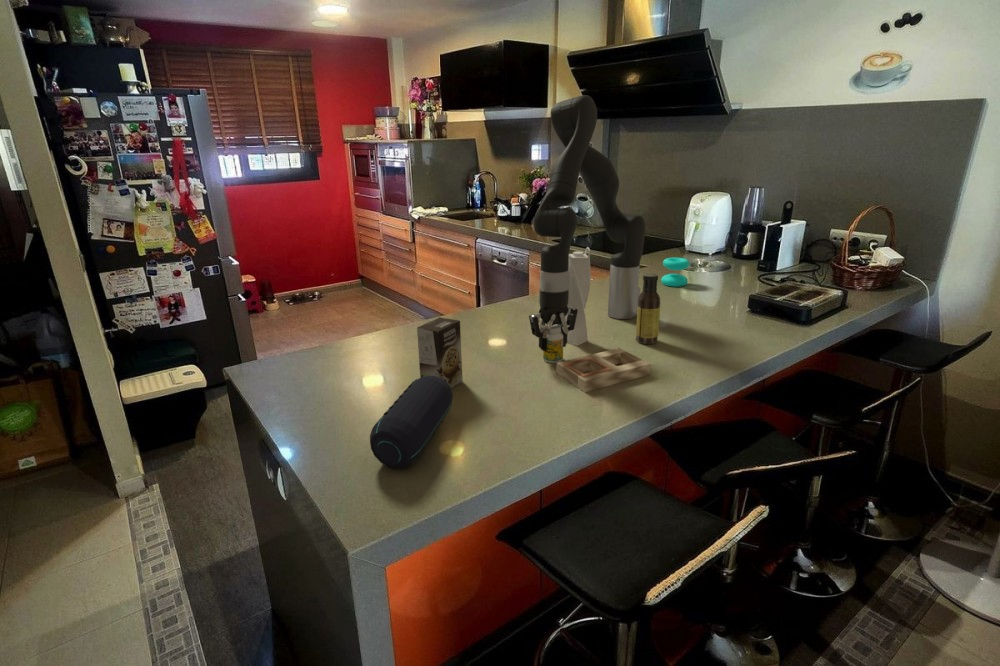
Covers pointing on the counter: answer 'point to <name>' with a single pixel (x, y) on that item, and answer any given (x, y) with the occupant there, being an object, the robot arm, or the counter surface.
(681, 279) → the donuts
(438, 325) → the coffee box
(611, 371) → the cup caddy
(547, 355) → the supplement bottle
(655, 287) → the sauce bottle
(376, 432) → the portable speaker
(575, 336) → the skyscraper
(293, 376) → the counter surface
